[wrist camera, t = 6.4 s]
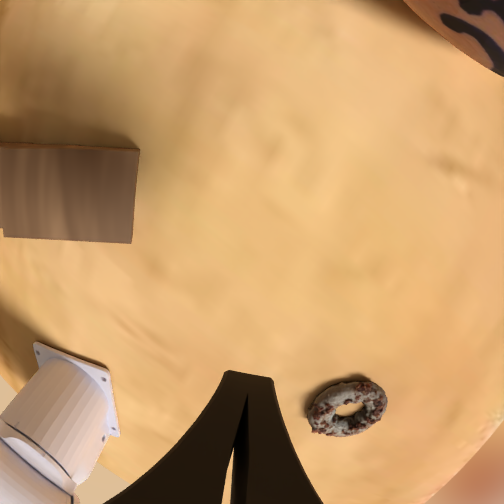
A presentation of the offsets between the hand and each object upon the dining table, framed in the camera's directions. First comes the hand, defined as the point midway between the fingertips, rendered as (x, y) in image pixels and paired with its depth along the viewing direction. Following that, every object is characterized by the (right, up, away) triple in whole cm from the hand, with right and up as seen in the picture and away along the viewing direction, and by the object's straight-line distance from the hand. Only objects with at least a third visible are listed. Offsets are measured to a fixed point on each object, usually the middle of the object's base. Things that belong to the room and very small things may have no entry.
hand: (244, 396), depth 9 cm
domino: (-6, +7, +8) cm, 12 cm away
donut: (+7, -7, +14) cm, 17 cm away
